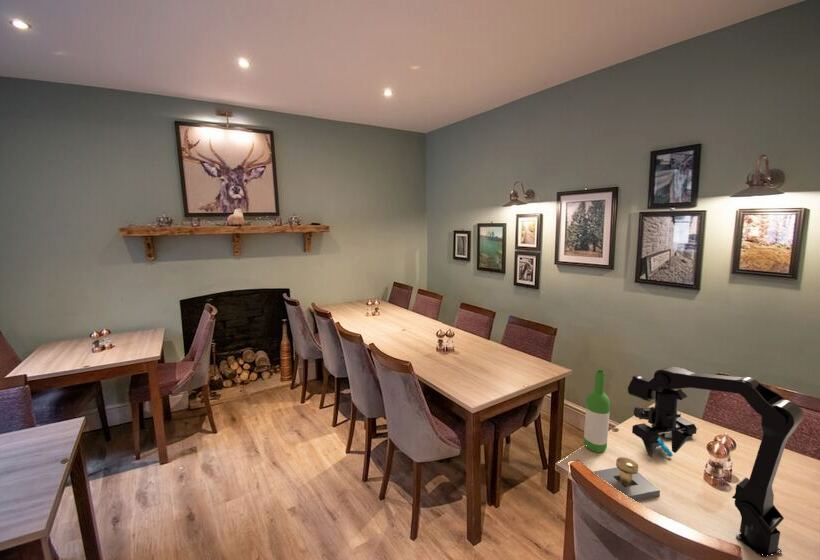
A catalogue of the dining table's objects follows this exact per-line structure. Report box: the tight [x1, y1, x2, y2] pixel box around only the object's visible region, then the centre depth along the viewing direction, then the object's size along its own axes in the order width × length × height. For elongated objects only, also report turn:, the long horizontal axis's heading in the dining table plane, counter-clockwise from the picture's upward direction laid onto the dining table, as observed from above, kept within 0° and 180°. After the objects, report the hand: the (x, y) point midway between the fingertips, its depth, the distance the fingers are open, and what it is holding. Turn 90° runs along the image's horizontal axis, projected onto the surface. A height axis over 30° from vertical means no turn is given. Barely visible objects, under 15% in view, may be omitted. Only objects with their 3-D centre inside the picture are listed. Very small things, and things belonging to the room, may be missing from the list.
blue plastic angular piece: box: [657, 437, 673, 457], centre depth 135 cm, size 11×6×10 cm
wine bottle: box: [583, 369, 611, 453], centre depth 135 cm, size 8×8×30 cm
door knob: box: [615, 456, 639, 487], centre depth 116 cm, size 6×6×8 cm
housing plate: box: [592, 466, 661, 502], centre depth 117 cm, size 12×14×2 cm
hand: (662, 454), depth 114 cm, fingers open, 9 cm apart
